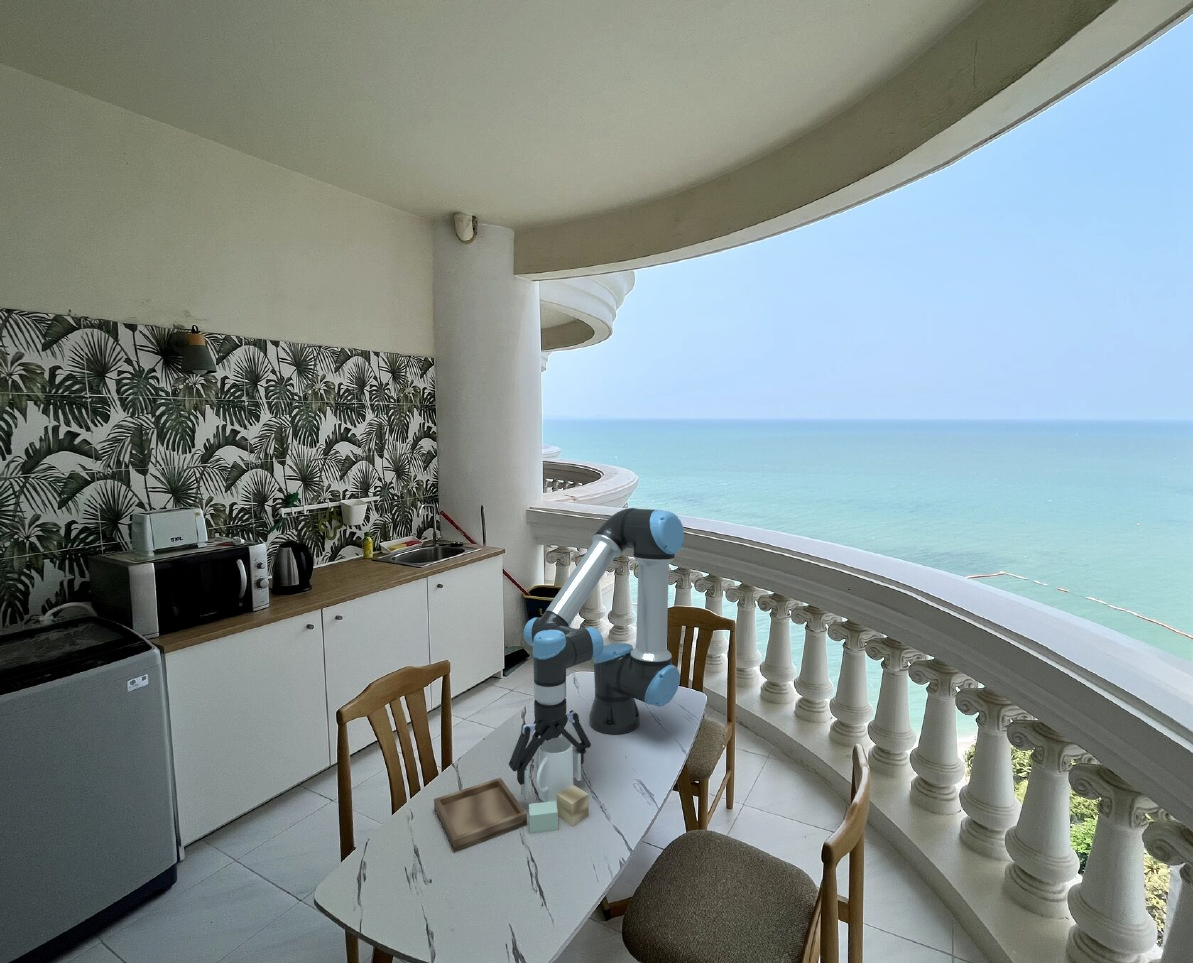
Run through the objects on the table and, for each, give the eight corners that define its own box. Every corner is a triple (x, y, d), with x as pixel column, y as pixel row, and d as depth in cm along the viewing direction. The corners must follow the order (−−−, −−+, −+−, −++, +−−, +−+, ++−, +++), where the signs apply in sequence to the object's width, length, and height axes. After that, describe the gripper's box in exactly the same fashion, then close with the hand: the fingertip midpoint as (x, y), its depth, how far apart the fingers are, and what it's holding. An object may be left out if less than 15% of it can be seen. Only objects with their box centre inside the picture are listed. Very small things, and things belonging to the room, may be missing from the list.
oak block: (573, 805, 128) (573, 784, 128) (588, 815, 124) (588, 793, 124) (557, 816, 124) (556, 794, 124) (572, 826, 121) (572, 804, 121)
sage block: (556, 818, 124) (556, 800, 123) (558, 830, 120) (557, 812, 120) (529, 821, 123) (528, 804, 123) (530, 833, 119) (529, 815, 119)
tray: (500, 787, 135) (500, 777, 135) (527, 824, 121) (526, 813, 121) (434, 809, 127) (434, 799, 127) (454, 852, 113) (454, 840, 113)
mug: (549, 817, 124) (548, 764, 123) (521, 803, 129) (520, 753, 128) (581, 790, 133) (580, 741, 133) (554, 779, 138) (553, 731, 138)
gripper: (588, 681, 139) (589, 763, 140) (493, 704, 127) (495, 795, 128) (604, 692, 133) (605, 778, 134) (505, 718, 120) (507, 813, 121)
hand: (551, 786), depth 131 cm, fingers open, 13 cm apart
